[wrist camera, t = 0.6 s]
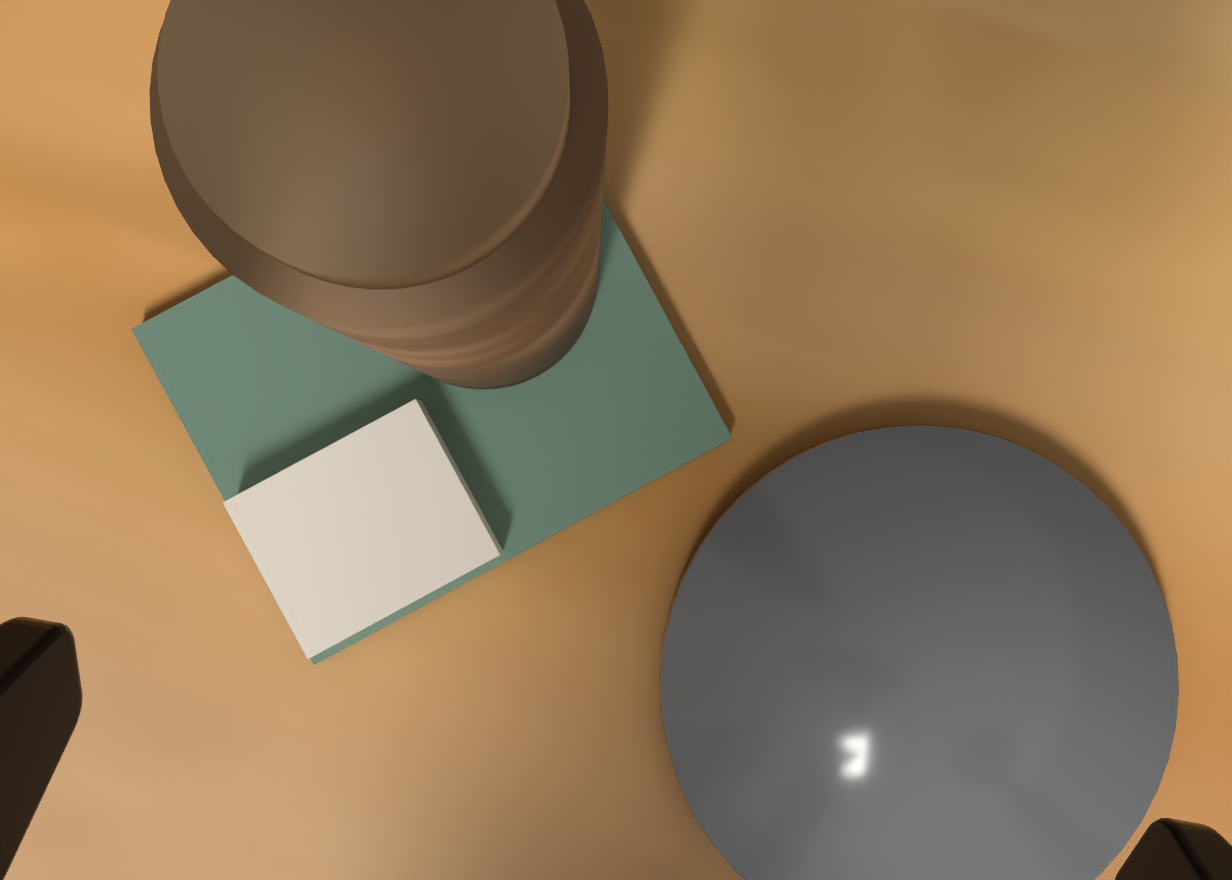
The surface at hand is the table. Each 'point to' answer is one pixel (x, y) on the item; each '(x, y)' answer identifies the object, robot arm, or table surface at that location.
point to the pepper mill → (396, 168)
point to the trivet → (918, 667)
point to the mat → (417, 444)
